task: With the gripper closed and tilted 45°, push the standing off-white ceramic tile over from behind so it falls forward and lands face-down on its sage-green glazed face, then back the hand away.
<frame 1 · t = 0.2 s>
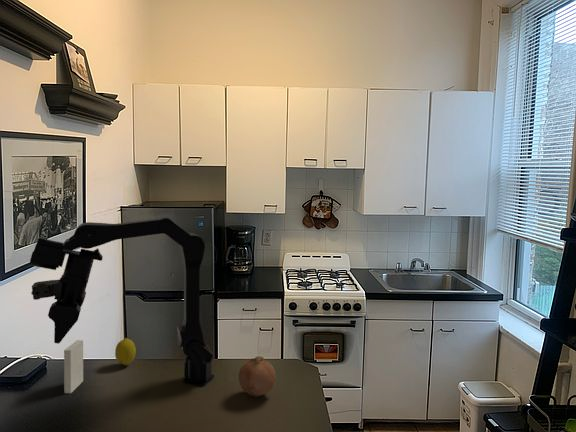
hand: (59, 336, 110), 15 cm above the table, tool pointing down, fingers open, 9 cm apart
lemon: (125, 366, 131), on the table
tile: (74, 386, 117), on the table
onion: (256, 396, 115), on the table
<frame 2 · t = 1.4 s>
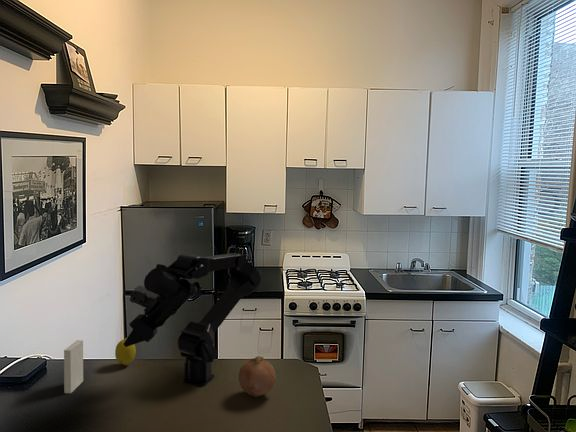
hand: (129, 340, 116), 13 cm above the table, tool tilted 45°, fingers open, 6 cm apart
nothing on the table moved.
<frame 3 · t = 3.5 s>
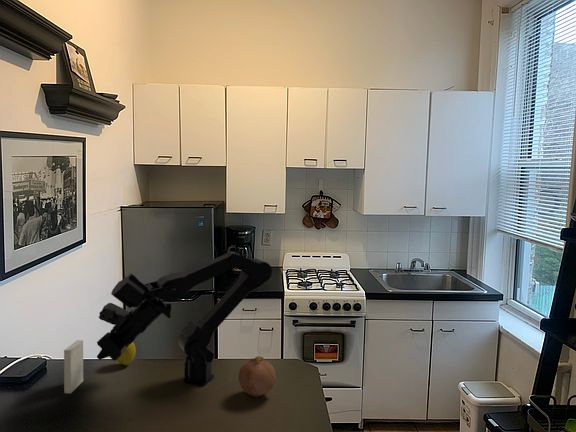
hand: (98, 357, 116), 8 cm above the table, tool tilted 45°, fingers closed
nothing on the table moved.
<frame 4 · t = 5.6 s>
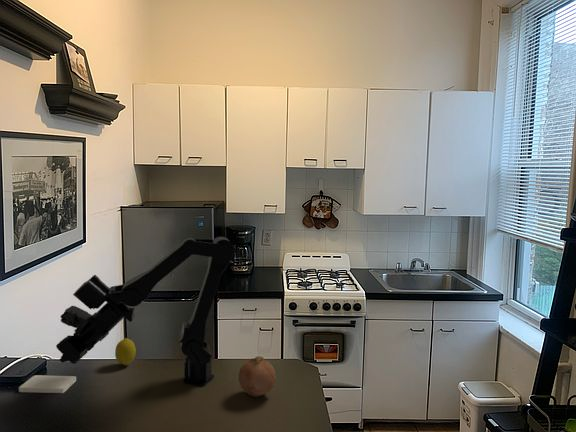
hand: (61, 360, 116), 7 cm above the table, tool tilted 45°, fingers closed
tile: (69, 385, 117), on the table, tilted 90°
everything else where it was.
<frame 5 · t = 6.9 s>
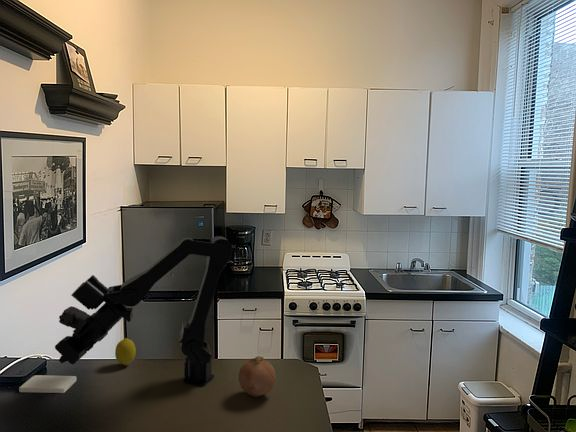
hand: (60, 361, 116), 7 cm above the table, tool tilted 45°, fingers closed
nothing on the table moved.
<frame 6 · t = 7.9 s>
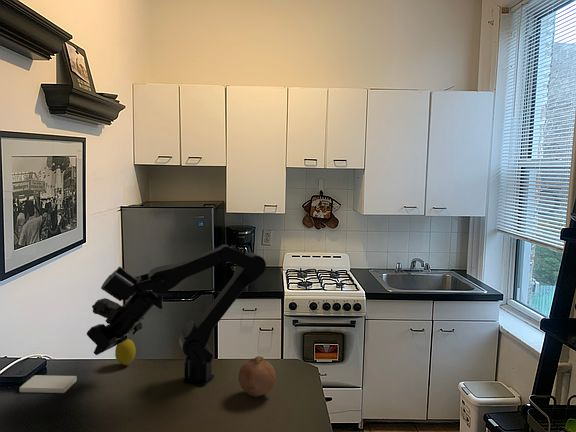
hand: (95, 353, 117), 9 cm above the table, tool tilted 40°, fingers closed
nothing on the table moved.
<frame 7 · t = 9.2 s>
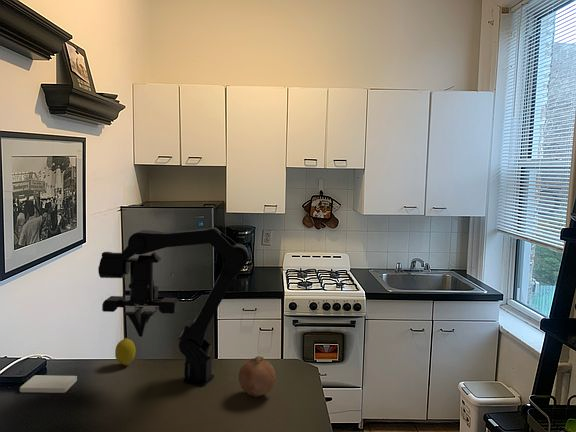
hand: (141, 336, 121), 12 cm above the table, tool pointing down, fingers closed
nothing on the table moved.
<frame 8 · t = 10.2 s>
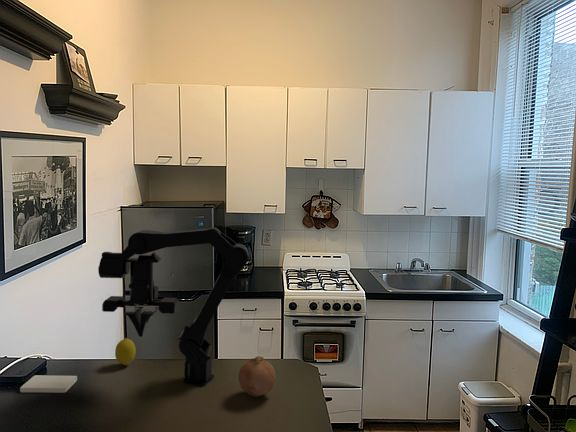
hand: (141, 336, 121), 12 cm above the table, tool pointing down, fingers closed
nothing on the table moved.
at the end: tile tilted 90°; tile inside the target area (1.2 cm from its centre), on the table; the gripper is holding nothing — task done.
